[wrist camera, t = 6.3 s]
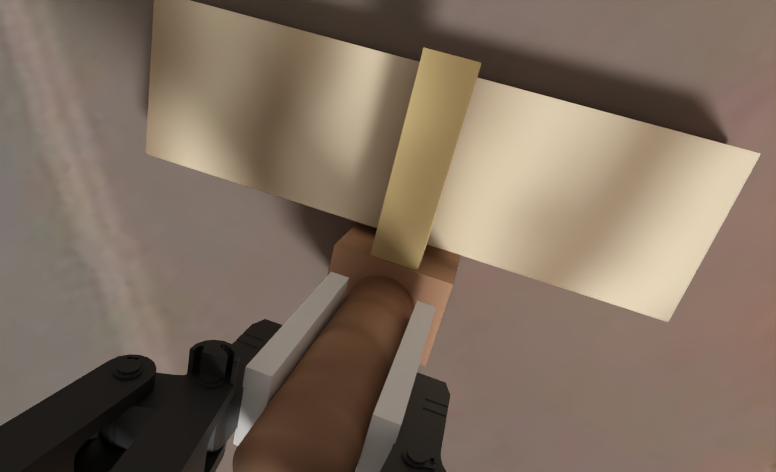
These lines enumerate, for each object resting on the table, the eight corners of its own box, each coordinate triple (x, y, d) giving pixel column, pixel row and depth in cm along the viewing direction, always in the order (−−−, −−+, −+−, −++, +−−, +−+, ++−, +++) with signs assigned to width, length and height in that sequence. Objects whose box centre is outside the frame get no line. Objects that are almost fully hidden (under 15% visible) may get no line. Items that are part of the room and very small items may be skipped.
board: (173, 147, 24) (145, 153, 22) (184, -2, 21) (154, -9, 19) (653, 300, 20) (668, 322, 19) (734, 146, 18) (760, 153, 16)
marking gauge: (344, 289, 24) (185, 499, 12) (403, 44, 20) (246, -14, 8) (437, 321, 23) (368, 578, 11) (520, 75, 19) (550, 65, 7)
